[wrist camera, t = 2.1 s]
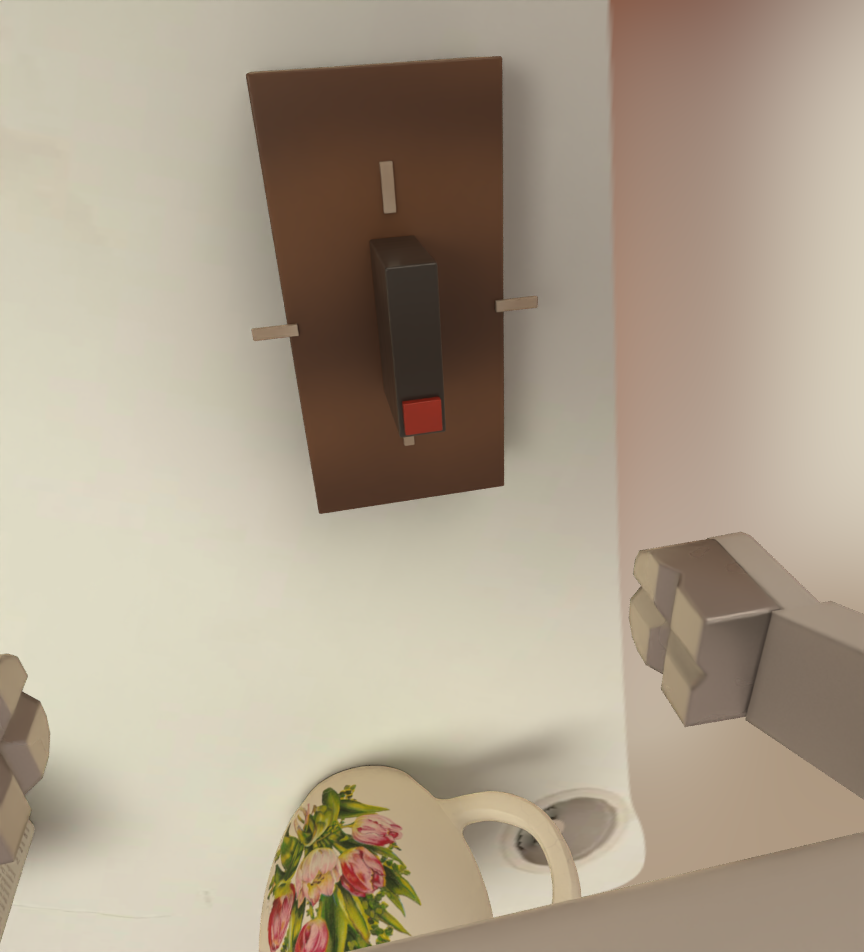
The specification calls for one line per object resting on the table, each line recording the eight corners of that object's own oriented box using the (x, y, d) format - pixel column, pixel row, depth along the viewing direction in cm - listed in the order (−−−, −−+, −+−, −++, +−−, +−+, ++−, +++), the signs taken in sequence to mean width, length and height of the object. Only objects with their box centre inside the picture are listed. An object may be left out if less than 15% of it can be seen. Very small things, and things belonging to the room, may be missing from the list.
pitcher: (556, 777, 41) (667, 1057, 30) (289, 907, 43) (296, 1224, 31) (482, 666, 36) (586, 960, 24) (177, 820, 37) (133, 1170, 25)
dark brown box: (368, 239, 21) (385, 270, 18) (414, 234, 21) (439, 264, 18) (384, 391, 24) (401, 442, 21) (424, 386, 24) (448, 435, 21)
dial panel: (211, 74, 21) (202, 76, 18) (510, 54, 22) (542, 53, 20) (287, 478, 28) (289, 521, 25) (510, 445, 29) (533, 484, 27)
